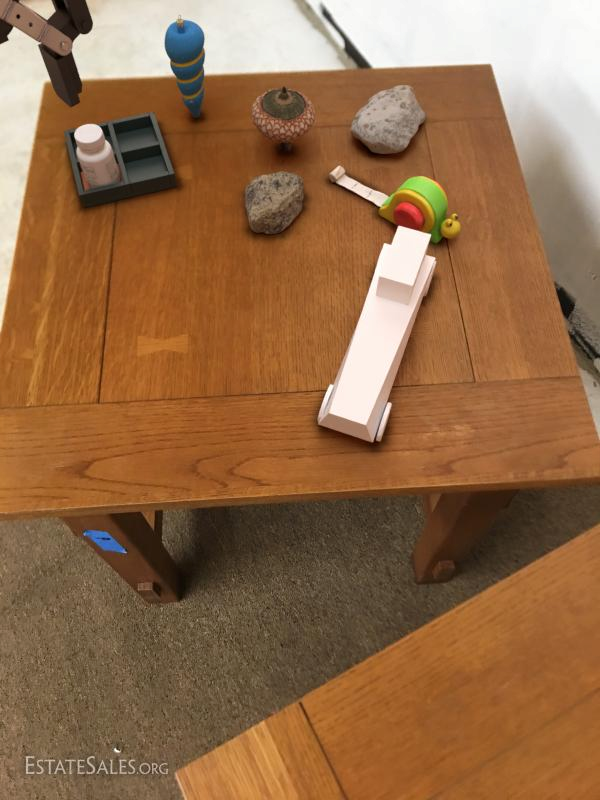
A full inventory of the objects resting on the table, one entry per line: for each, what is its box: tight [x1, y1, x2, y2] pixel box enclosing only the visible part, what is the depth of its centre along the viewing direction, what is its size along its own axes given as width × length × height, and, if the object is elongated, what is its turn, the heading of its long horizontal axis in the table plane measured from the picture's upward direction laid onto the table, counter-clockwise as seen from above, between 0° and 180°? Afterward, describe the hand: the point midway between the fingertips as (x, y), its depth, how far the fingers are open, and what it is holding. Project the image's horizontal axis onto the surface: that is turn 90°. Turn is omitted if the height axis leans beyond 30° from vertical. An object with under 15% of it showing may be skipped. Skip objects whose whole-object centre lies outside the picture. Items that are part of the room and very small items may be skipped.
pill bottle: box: [74, 123, 120, 189], centre depth 82 cm, size 4×4×8 cm
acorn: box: [251, 86, 316, 152], centre depth 85 cm, size 8×8×10 cm
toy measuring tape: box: [328, 165, 462, 245], centre depth 82 cm, size 6×20×7 cm, turn 51°
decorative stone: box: [350, 84, 427, 155], centre depth 90 cm, size 12×11×5 cm
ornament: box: [163, 14, 206, 119], centre depth 86 cm, size 5×5×15 cm
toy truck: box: [316, 226, 437, 443], centre depth 71 cm, size 25×7×9 cm, turn 160°
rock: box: [244, 170, 305, 235], centre depth 82 cm, size 7×8×4 cm
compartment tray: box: [63, 111, 178, 209], centre depth 87 cm, size 12×12×2 cm
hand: (15, 128), depth 44 cm, fingers open, 8 cm apart
